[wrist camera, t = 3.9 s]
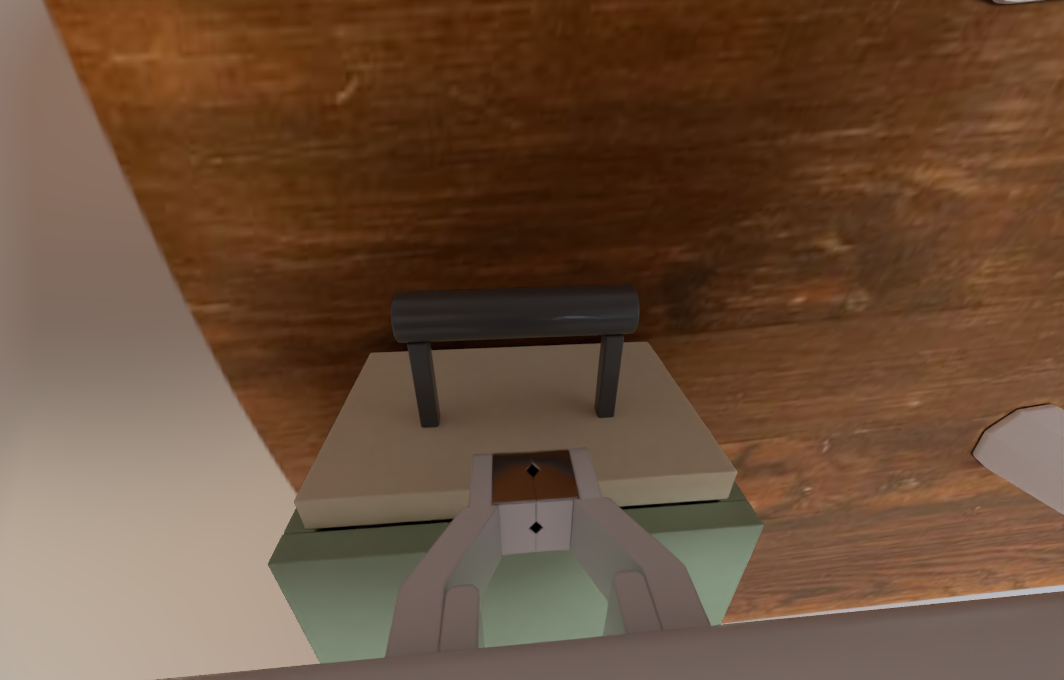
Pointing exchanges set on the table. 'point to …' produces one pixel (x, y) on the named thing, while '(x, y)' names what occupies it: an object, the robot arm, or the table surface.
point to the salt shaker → (1028, 452)
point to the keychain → (1013, 1)
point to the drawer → (508, 409)
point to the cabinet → (494, 577)
